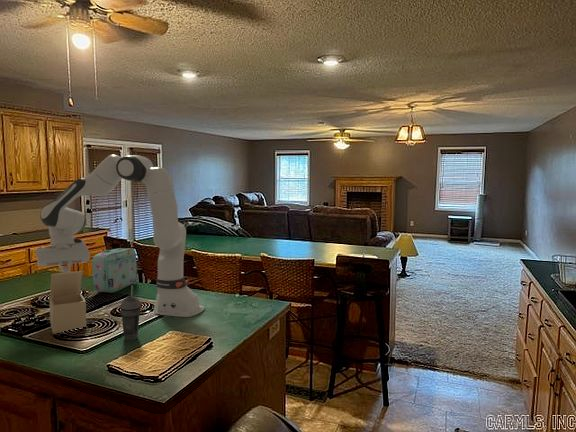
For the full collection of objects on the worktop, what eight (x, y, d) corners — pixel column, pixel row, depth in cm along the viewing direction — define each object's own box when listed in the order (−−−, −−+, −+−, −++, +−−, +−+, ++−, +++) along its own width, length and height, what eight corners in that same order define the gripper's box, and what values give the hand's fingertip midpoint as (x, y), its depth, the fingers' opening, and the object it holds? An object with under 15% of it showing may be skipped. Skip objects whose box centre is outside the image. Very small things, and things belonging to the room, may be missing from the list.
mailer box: (50, 324, 157) (49, 297, 156) (81, 319, 163) (80, 293, 162) (53, 334, 147) (52, 305, 146) (86, 329, 154) (85, 301, 152)
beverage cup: (134, 332, 152) (134, 280, 150) (145, 337, 147) (145, 284, 145) (116, 337, 146) (115, 284, 144) (126, 343, 142) (126, 288, 140)
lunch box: (108, 296, 195) (107, 253, 193) (89, 294, 197) (89, 252, 195) (139, 282, 221) (139, 244, 219) (122, 281, 223) (122, 243, 221)
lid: (49, 310, 161) (49, 309, 162) (78, 306, 167) (78, 304, 168) (51, 275, 149) (51, 273, 149) (82, 272, 155) (82, 270, 155)
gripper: (35, 243, 170) (37, 270, 163) (87, 239, 182) (92, 264, 175) (34, 251, 174) (37, 278, 167) (86, 247, 186) (91, 272, 179)
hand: (66, 271), depth 171 cm, fingers closed
